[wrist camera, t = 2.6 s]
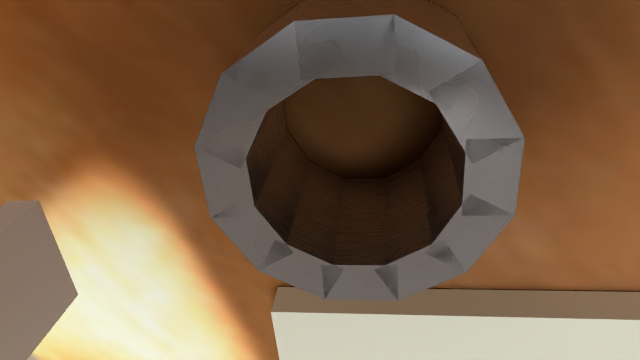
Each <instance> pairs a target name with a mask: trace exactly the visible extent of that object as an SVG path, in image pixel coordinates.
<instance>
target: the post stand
mask: <svg viewBox="0 0 640 360" xmlns="http://www.w3.org/2000/svg"><path fill="white" fill-rule="evenodd" d="M271 315H272V321H273V326H274V332H275V337H276V343H277V348H278V353H279V359H280V360H640V292H608V291H537V290H466V289H426V290H423V291H421V292H418V293H416V294H414V295H411V296H409V297H406V298H404V299H401V300H399V301H376V300H325V299H322V298H320V297H318V296H315V295H313V294H311V293H308V292H306V291H304V290H302V289H299V288H297V287H278V289H277V292H276V296H275V299H274V303H273V306H272V310H271Z"/></svg>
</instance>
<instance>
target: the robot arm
mask: <svg viewBox="0 0 640 360" xmlns="http://www.w3.org/2000/svg"><path fill="white" fill-rule="evenodd" d="M77 295H78V294H77V291H76V289H75V286H74V284H73V282H72V279H71V277H70V274H69V272H68V270H67V267H66V265H65V262H64V260H63V258H62V255H61V253H60V250H59V248H58V246H57V243H56V241H55V238H54V236H53V234H52V231H51V229H50V226H49V224H48V222H47V219H46V217H45V214H44V212H43V210H42V207H41V205H40V202H39V201H8V202H6V203H5V204H4V205H2V206H1V207H0V360H27V359H28V357H29V356H30V355H31V353H32V352H33V351H34V350H35V348H36V347H37V346H38V345H39V343H40V342H41V341H42V340H43V338H44V337H45V336H46V334H47V333H48V332H49V331H50V329H51V328H52V327H53V326H54V324H55V323H56V322H57V321H58V319H59V318H60V317H61V316H62V314H63V313H64V312H65V310H66V309H67V308H68V307H69V305H70V304H71V303H72V302H73V300H74V299H75V298H76V297H77Z"/></svg>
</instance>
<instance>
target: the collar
mask: <svg viewBox="0 0 640 360" xmlns="http://www.w3.org/2000/svg"><path fill="white" fill-rule="evenodd" d="M361 76H381V77H383V78H385V79H387V80H389V81H391V82H393V83H395V84H397V85H399V86H401V87H403V88H405V89H407V90H409V91H411V92H413V93H415V94H417V95H419V96H421V97H423V98H425V99H427V100H429V101H431V102H433V103H435V104H436V105H437V107H438V108H439V110H440V111H441V113H442V115H443V126H442V128H441V129H440V131H439V132H438V134H437V135H436V137H435V138H434V140H433V141H432V143H431V144H430V146H429V147H428V149H427V150H426V152H425V153H424V155H423V156H422V158H421V159H420V160H418V161H416V162H414V163H413V164H411V165H409V166H407V167H405V168H403V169H401V170H399V171H397V172H395V173H393V174H392V175H390V176H388V177H386V178H347V179H346V178H344V177H342V176H340V175H337V174H335V173H333V172H331V171H329V170H327V169H325V168H323V167H320V166H318V165H316V164H314V163H312V162H310V160H309V159H308V158H307V156H306V155H305V154H304V152H303V151H302V150H301V149H300V147H299V146H298V145H297V143H296V142H295V141H294V139H293V138H292V137H291V135H290V134H289V133H288V131H287V125H286V117H285V110H284V102H283V100H284V99H285V98H287V97H288V96H290V95H291V94H293V93H294V92H296V91H298V90H299V89H301V88H302V87H304V86H305V85H307V84H308V83H310V82H311V81H313V80H314V79H320V78H340V77H361ZM524 140H525V137H524V135H523V133H522V131H521V130H520V128H519V126H518V124H517V122H516V120H515V119H514V117H513V115H512V113H511V111H510V109H509V108H508V106H507V104H506V102H505V100H504V99H503V97H502V95H501V93H500V91H499V89H498V88H497V86H496V84H495V82H494V80H493V78H492V77H491V75H490V73H489V71H488V69H487V67H486V66H485V64H484V62H483V60H482V59H481V57H480V55H479V54H478V52H477V50H476V49H475V47H474V46H473V44H472V42H471V41H470V39H469V37H468V36H467V34H466V32H465V31H464V29H463V28H462V26H461V24H460V23H459V21H458V19H457V18H456V16H455V15H454V14H453V13H451V12H449V11H447V10H445V9H443V8H441V7H439V6H437V5H436V4H434V3H432V2H430V1H428V0H303V1H301V2H300V3H299V4H297V5H296V6H294V7H293V8H292V9H290V10H289V11H288V12H286V13H285V14H284V15H282V16H281V17H279V18H278V19H277V20H275V21H274V22H273V23H271V24H270V25H269V26H267V27H266V28H265V29H264V30H263V31H262V32H261V33H260V34H259V35H258V36H257V37H256V38H255V39H254V40H253V41H252V43H251V44H250V45H249V46H248V47H247V48H246V49H245V50H244V51H243V52H242V53H241V54H240V55H239V56H238V57H237V58H236V59H235V60H234V61H233V62H232V63H231V64H230V65H229V66H228V67H227V68H226V69H225V70H224V71H223V72H222V73H221V75H220V78H219V81H218V83H217V86H216V89H215V92H214V94H213V97H212V100H211V102H210V105H209V108H208V111H207V113H206V116H205V119H204V122H203V124H202V127H201V130H200V133H199V135H198V138H197V141H196V143H195V146H194V149H195V153H196V158H197V162H198V166H199V170H200V175H201V179H202V183H203V187H204V192H205V196H206V200H207V204H208V209H209V213H210V217H211V219H212V220H213V221H214V222H215V223H216V224H217V225H218V226H219V228H220V229H221V230H222V231H223V232H224V233H225V234H226V235H227V236H228V238H229V239H230V240H231V241H232V242H233V243H234V244H235V245H236V246H237V248H238V249H239V250H240V251H241V252H242V253H243V254H244V255H245V256H246V258H247V259H248V260H249V261H250V262H251V263H252V264H253V265H254V266H255V267H256V269H257V270H258V271H260V272H263V273H265V274H267V275H269V276H272V277H274V278H276V279H279V280H281V281H283V282H285V283H288V284H290V285H292V286H295V287H297V288H299V289H302V290H304V291H306V292H308V293H311V294H313V295H315V296H318V297H320V298H322V299H325V300H376V301H399V300H401V299H404V298H406V297H409V296H411V295H414V294H416V293H418V292H421V291H423V290H426V289H428V288H431V287H433V286H435V285H438V284H440V283H443V282H445V281H447V280H450V279H452V278H455V277H457V276H460V275H462V274H464V273H467V272H468V270H469V269H470V268H471V267H472V266H473V264H474V263H475V262H476V261H477V260H478V259H479V257H480V256H481V255H482V254H483V253H484V251H485V250H486V249H487V248H488V247H489V246H490V244H491V243H492V242H493V241H494V240H495V238H496V237H497V236H498V235H499V234H500V233H501V231H502V230H503V229H504V228H505V227H506V225H507V224H508V223H509V222H510V221H511V220H512V218H513V217H514V216H515V211H516V203H517V195H518V188H519V180H520V172H521V164H522V156H523V148H524Z"/></svg>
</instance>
